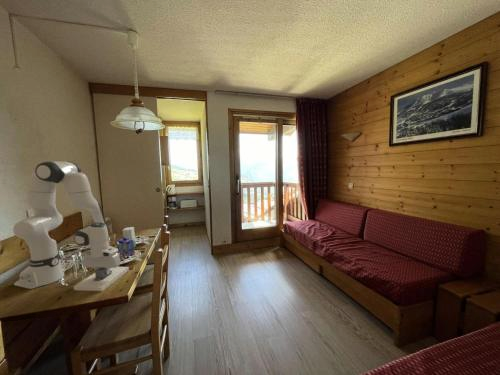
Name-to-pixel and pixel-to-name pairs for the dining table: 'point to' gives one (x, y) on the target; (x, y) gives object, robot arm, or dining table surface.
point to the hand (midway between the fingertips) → (103, 273)
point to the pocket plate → (101, 284)
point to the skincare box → (129, 234)
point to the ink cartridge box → (126, 247)
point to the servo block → (101, 274)
